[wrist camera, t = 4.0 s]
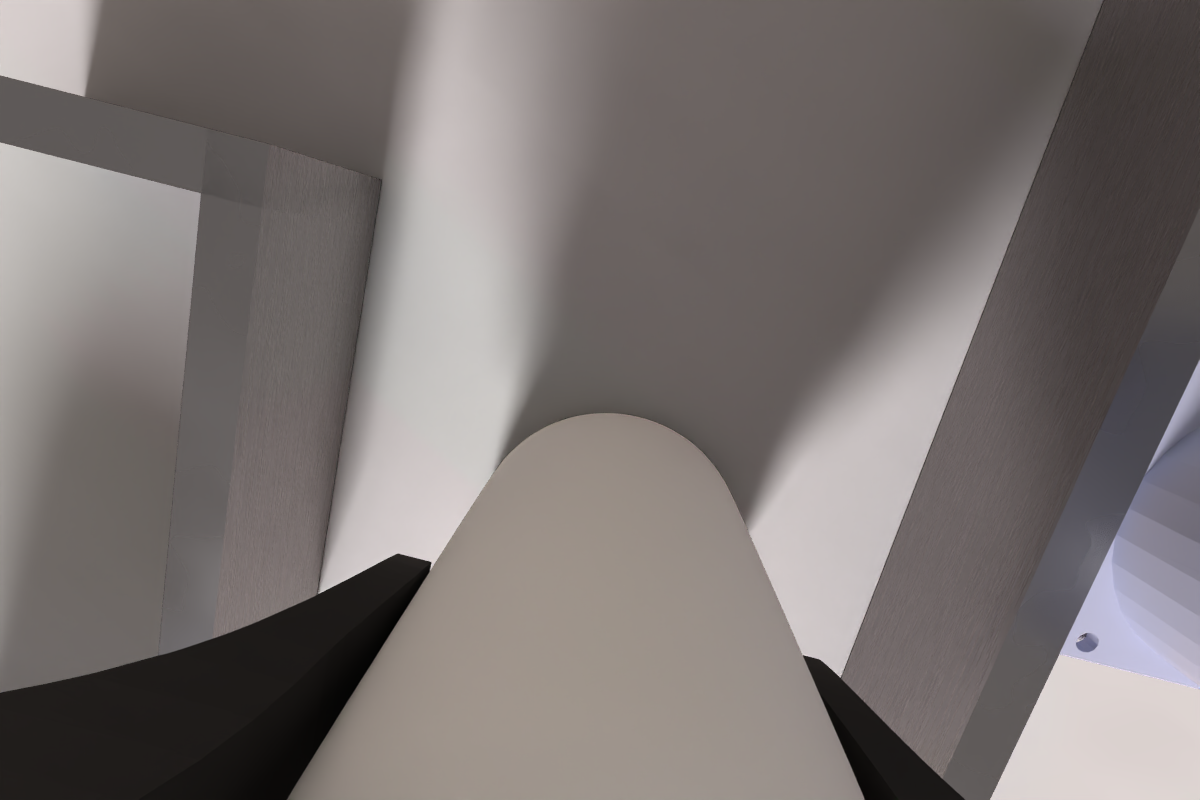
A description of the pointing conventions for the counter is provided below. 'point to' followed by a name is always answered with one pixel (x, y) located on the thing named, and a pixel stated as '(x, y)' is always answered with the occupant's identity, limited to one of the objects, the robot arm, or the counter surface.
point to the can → (590, 645)
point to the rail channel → (951, 471)
